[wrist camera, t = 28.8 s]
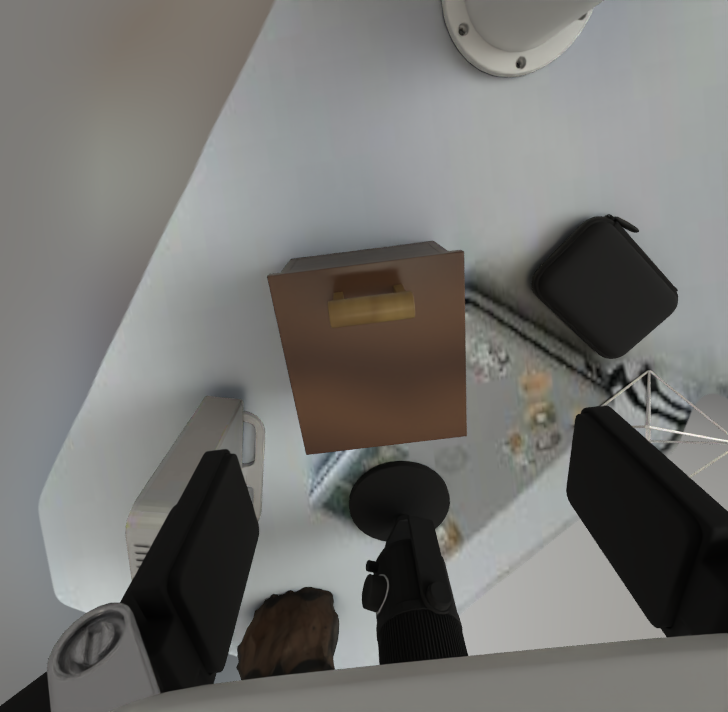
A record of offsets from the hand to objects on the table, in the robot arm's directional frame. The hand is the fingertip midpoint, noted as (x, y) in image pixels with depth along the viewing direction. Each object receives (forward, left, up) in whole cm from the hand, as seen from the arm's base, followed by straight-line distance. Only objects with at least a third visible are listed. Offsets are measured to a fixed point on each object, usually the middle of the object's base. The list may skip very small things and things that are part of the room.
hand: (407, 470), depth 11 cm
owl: (+54, -17, -32) cm, 65 cm away
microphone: (+33, +1, -32) cm, 46 cm away
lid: (+6, 0, -21) cm, 22 cm away
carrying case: (+6, +25, -32) cm, 41 cm away
